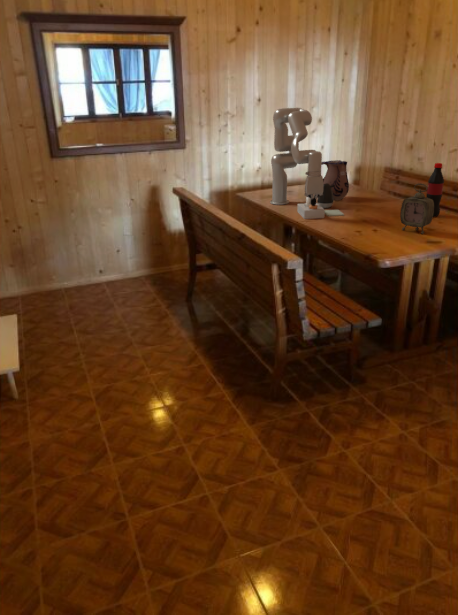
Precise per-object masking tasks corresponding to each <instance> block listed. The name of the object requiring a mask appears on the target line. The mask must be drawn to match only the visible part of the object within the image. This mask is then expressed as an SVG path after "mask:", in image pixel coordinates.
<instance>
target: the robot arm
mask: <svg viewBox="0 0 458 615" xmlns="http://www.w3.org/2000/svg"><path fill="white" fill-rule="evenodd" d="M272 120H273V121H272V122H273V126H274V138H273V139H274V141H273V149H274V150H275V152H277V154H274V155H273V156H272V157H271V159H270V162H271V163H270V164H271V169H272V172H271V173H272V191H271V192H272V194H271V195H272V198H271V200H270V201H269V203H270V204H271V205H277V206H278V205H279V206H281V205H287V204H290V201H289V200H288V197H287V196H288V175H287V172H286V171H285V169H294V168H296V167H297V166H298V165H303V164H304V165H305V164H308V166H307V171H306V172H305V173H304V174H305V175H306V177H305V183H304V184H305V186H304V196H305V197H306V196H308V197H310V198H311V205H312V206H315V204H316V203H317V199H318V197H319V196H321V195H323V178H324V176H323V175H322V165H321V164H322V162H323V161H322V159H323V153H322V152H321V151H317V150H315V149H303V150H300V149H299V147H300V144H299V143H300V142H302V141H304V140H305V139H306V138H307V137H308V134H309V133H308V129H307V126H310V125H311V124H312V123H313V122H312V121H313V117H312V114H311V112H310V111H308V110H307V109H304V108H301V107H284V108H278V109H275V111H274V112H273V116H272ZM287 124H289V126H288V125H287ZM289 128H290V131H291V134H292V135H289ZM278 152H279V153H278ZM280 152H281V153H280ZM282 152H283V153H282ZM285 152H288V153H285ZM321 175H322V176H321ZM313 194H314V198H313Z"/></svg>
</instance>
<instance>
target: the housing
mask: <svg viewBox="0 0 458 615" xmlns="http://www.w3.org/2000/svg"><path fill="white" fill-rule="evenodd" d="M315 205H317V209H309V207H306V202H305V203H297V213H298V214H299V215H300V216H301V217H302V219H304V220H307V219H308V220H309V219H311V220H312V219H325V215H326V214H325V210H326V208H322V207H321V206H320V205H319V204H318V202H316V204H315Z"/></svg>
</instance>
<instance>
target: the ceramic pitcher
mask: <svg viewBox="0 0 458 615" xmlns="http://www.w3.org/2000/svg"><path fill="white" fill-rule="evenodd" d="M322 165H325V166H326V168H327V171H326V173H325V175H324V176H323V175H322V174H321V176H322V177H323V184H325V183H328V184H329V185H330V186H331V185H335V186H334V187H332V191H333V197H334V201H342V199H345V197H346V196H347V195H348V193H349V189H350V185H349V182H350V181H349V177H348V172H347V166H348V161H346V160H343V161H342V160H341V159H339V160H338V159H336V160H328V161H322V164H321V166H322Z"/></svg>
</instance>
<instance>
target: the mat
mask: <svg viewBox="0 0 458 615" xmlns="http://www.w3.org/2000/svg"><path fill="white" fill-rule="evenodd" d="M324 215H325V216H327V217H339V216H340V217H341V216H343V217H345V214H344V212H342V211H341V210H339V209H328V210H327V209H325V214H324Z"/></svg>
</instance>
